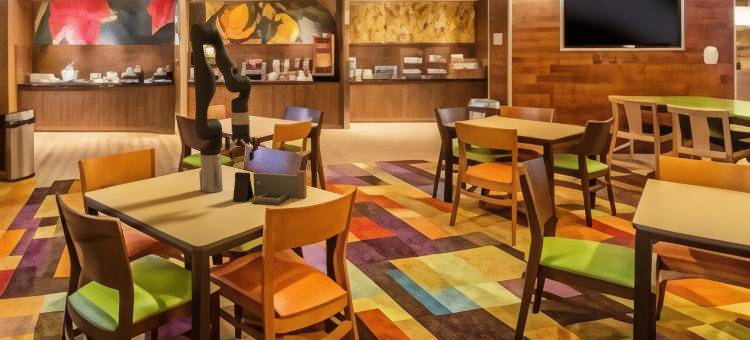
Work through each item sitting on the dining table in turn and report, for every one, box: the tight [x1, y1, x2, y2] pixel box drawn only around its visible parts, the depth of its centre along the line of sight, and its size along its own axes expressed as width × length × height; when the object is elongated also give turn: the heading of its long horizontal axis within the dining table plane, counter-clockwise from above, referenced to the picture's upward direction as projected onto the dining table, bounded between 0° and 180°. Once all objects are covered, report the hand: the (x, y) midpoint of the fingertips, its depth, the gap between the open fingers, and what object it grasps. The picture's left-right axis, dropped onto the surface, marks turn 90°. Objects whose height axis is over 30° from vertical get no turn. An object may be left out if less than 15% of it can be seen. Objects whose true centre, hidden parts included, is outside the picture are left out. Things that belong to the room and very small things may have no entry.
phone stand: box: [232, 171, 255, 203], centre depth 270 cm, size 9×6×12 cm, turn 168°
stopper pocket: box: [252, 192, 292, 206], centre depth 269 cm, size 12×14×2 cm
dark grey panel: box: [253, 170, 308, 200], centre depth 276 cm, size 24×4×12 cm, turn 77°
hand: (242, 160), depth 268 cm, fingers open, 8 cm apart
